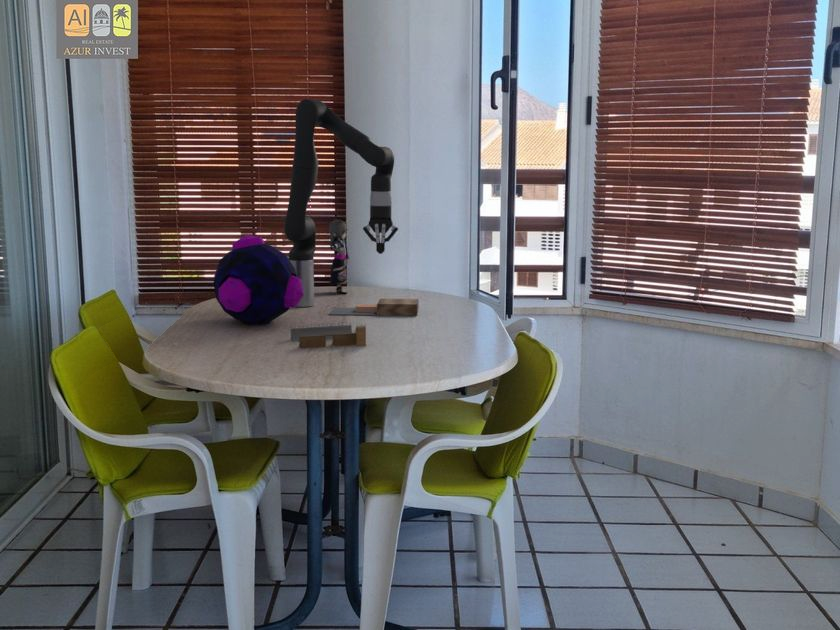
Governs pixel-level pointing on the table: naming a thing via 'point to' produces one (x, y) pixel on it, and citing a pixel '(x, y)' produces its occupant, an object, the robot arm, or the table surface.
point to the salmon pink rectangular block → (366, 308)
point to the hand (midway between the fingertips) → (380, 253)
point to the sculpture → (256, 282)
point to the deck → (397, 307)
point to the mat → (349, 312)
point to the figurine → (338, 255)
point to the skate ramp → (329, 335)
